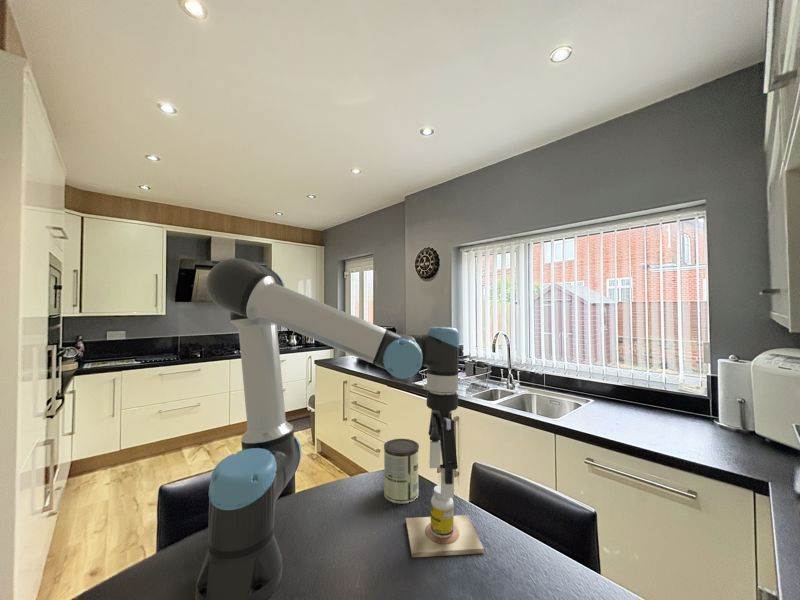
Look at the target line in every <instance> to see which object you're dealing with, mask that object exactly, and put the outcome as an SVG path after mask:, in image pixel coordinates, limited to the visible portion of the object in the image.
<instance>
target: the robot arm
mask: <svg viewBox="0 0 800 600" xmlns="http://www.w3.org/2000/svg"><path fill="white" fill-rule="evenodd" d="M205 288H206V293H207V295H208V297H209V299H210V300H211V301H212V302H213V303H214V304H215V306H217V307H218V308H220V309H222V310H224V311H228V312H229V318H230V323H231V324H232V325H234V326H235V327H236V328H237V329H238V337H239V349H240V359H241V370H242V371H241V372H242V382H243V393H244V402H245V414H246V426H247V429H246V431H245V432H244V434H243V435H242V436H241V438H240V442H241V450H238V451H237V452H236V453H231V454H229V455H227V456H226V457H224V458H223V459H222V460H220V461H219V462H218V464H216V466H215V467H214V468H213V470H212V473H211V475H210V483H209V487H208V498H209V499H208V500H209V501H208V504H209V505H208V528H207V529H208V531H207V532H208V533H207V534H208V538H207V541H208V543H207V552H206V555H205V557H204V558H205V559H204V560H203V563H202V566H201V569H200V572H199V574H198V577H197V580H196V585H195V593H194V594H195V597H194V599H195V600H268V599H269V598H270V597H271V596H272V595H273V594H274V592H275V591H276V590H277V588H278V587H279V585H280V583H281V580H282V577H283V555H282V553H281V550H280V548H279V544H278V541H277V539H276V535H275V514H276V513H275V509H276V508H275V507H276V502H277V500H278V498H279V497H280V496H281V494H282V493H283V491H284V489H285V488H286V486H287V485H288V483H290V481H291V479H292V478H293V476H295V473H296V472H297V470H298V467H299V466H300V462H301V458H302V446H301V444H300V441H299V439H298V438H297V436H295V434H294V432H295V431H294V426H293V425H292V424H291V423H290V422H289V421H287V420H286V409H285V399H284V389H283V388H284V387H283V376H282V367H281V366H282V365H281V358H280V354H281V353H280V344H279V336H278V335H279V334H278V333H279V332H278V326H280V327H282V328H285V329H287V330H290V331H292V332H295V333H297V334H298V335H301V336H304V337H307V338H309V339H311V340H314V341H316V342H319V343H322V344H324V345H325V346H329V347H332V348H334V349H336V350H339V351H342V352H343V353H346V354H347V355H351V356H352V357H356V358H357V359H358V358H359V359H361V360H363V361H366V362H367V363H371V364H372V365H375V366H377V367H378V368H382V369H384V370H386V371H387V372H388V373H389V374H390V375H391V376H392V377H395V378H397V379H402V380H404V379H409V378H412V377H414V376H415V375H417V373H418V372H419V371H420V370H421V368H422V367H427V372H426V389H427V392H426V406H427V408H428V409H430V411H431V413H430V421H429V427H428V436H429V440H430V441H429V468H430V469H440V471H441V472H440V474H441V475H440V485H441V498H452V499H453V498H454V495H455V470H458V457H457V447H456V437H455V435H456V434H455V420H454V419H452V417H451V415H450V413H451V412H452V411H455V410H457V409H458V407H459V393H458V392H457V391H458V390H459V382H460V381H461V377H459V361H460V360H459V359H460V335H459V333H460V332H459V330H458V329H457V328H455V327H451V326H450V327H449V326H429V328H428V331H427V334H408V333H404V334H403V333H397V332H394V331H391V330H388V329H386V328H384V327H381V326H379V325H376V324H374V323H372V322H369V321H367V320H364V319H362V318H359V317H357V316H355V315H353V314H350V313H348V312H346V311H343V310H340V309H338V308H335V307H333V306H331V305H328V304H326V303H324V302H321V301H319V300H316V299H315V298H312V297H309V296H306V295H304V294H302V293H299V292H297V291H295V290H292V289H290V288H289V287H288V288H287V287H286V285H285V282H284V280H283V279H282V277H281V276H280V275H279V274H278V272H275V271H274V270H273V269H271V268H270V267H267V266H265V265H262V264H257V263H254V262H252V261H249V260H247V259H243V258H227V259H224V260H222V261H220V262H218V263H217V264H215V265H214V266H213V267H212V268H211V269H210V271H209V272H208V274H207V277H206V281H205ZM441 460H442V464H441Z"/></svg>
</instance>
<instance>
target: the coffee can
mask: <svg viewBox="0 0 800 600" xmlns="http://www.w3.org/2000/svg"><path fill="white" fill-rule="evenodd" d="M419 448H420V445H419V443H418V442H417V441H416V440H412V439H410V438H409V439H408V438H394V439H391V440H387V441H386V442H385V443H384V445H383V450H384V451H383V453H384V454H383V455H384V456H383V457H384V458H383V460H384V461H383V462H384V463H383V465H384V466H383V467H384V469H383V471H384V474H383V475H384V477H383V482H384V484H383V487H384V488H383V495H384V498H385V499H386V500H387V501H389V502H390V503H393V504H400V505H402V504H409V502H410V503H413V502H414V501H416V500H417V499H418V498H419V494H420V493H419ZM416 498H417V499H416ZM415 499H416V500H415Z"/></svg>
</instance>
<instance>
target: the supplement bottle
mask: <svg viewBox="0 0 800 600" xmlns="http://www.w3.org/2000/svg"><path fill="white" fill-rule="evenodd" d="M454 509H455V508H454V500H453V498H441V484H438V485H435V486H434V487H433V495H432V496H431V499H430V517H431V531H432V533H433V534H434V535H435V536H437V537H440V538H447V537H450V536H451V535H452V534H453V528H454V516H455V514H454V511H455V510H454Z"/></svg>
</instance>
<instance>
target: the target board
mask: <svg viewBox="0 0 800 600" xmlns="http://www.w3.org/2000/svg"><path fill="white" fill-rule="evenodd" d="M405 524H406V531H407V537H408V543H409V549H410V555H411V558H424V557H425V558H427V557H429V558H430V557H444V556H459V555H460V556H462V555H475V554H476V555H477V554H484V553H485V551H484V550H485V549H484V546H483V544H482V542H481V540H480V537H479V536H478V533H477V531H476V529H475V527H474V525H473V523H472V521H471V519H470V517H469V515H468V514H462V515H460V514H459V515H454V528H453V534H452V535H451V536H450V537H447V538H440V537H437V536H435V535H434V534H433V533H432V531H431V516H423V517H422V516H419V517H406V518H405Z"/></svg>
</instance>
